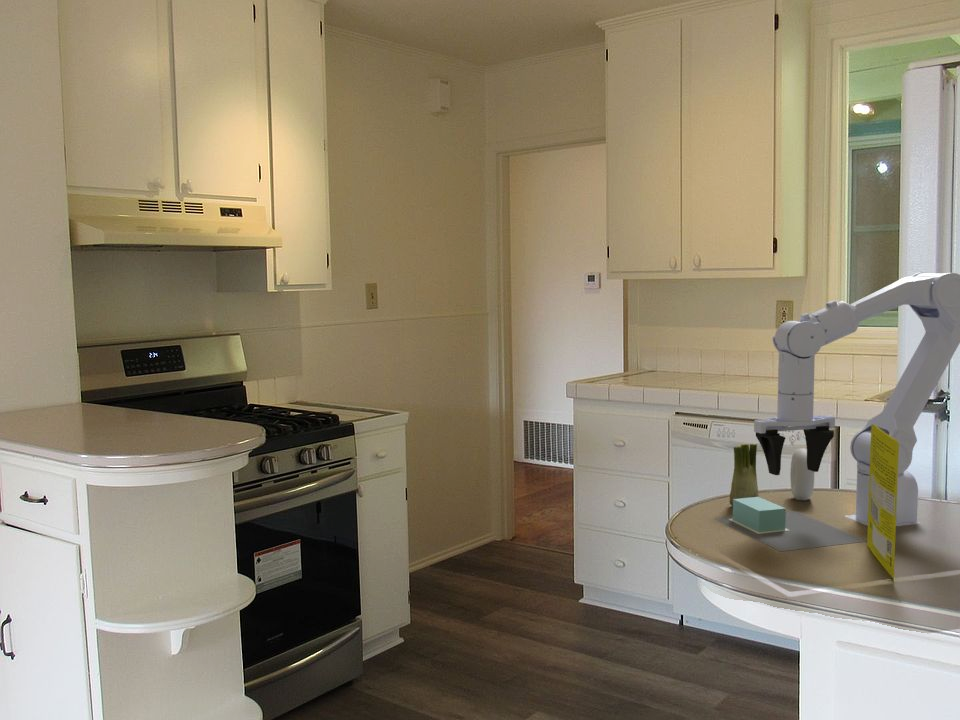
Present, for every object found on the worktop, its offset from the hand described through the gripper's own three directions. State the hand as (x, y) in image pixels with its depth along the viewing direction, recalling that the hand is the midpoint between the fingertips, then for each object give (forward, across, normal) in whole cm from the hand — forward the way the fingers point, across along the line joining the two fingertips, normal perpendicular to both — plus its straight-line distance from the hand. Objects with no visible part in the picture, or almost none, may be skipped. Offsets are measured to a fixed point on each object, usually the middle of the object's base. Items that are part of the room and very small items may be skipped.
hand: (793, 472), depth 155 cm
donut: (+10, -12, -14) cm, 21 cm away
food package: (+10, 0, +21) cm, 23 cm away
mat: (+9, +3, +3) cm, 10 cm away
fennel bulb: (+10, +1, -13) cm, 16 cm away
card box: (+9, +6, -1) cm, 11 cm away
